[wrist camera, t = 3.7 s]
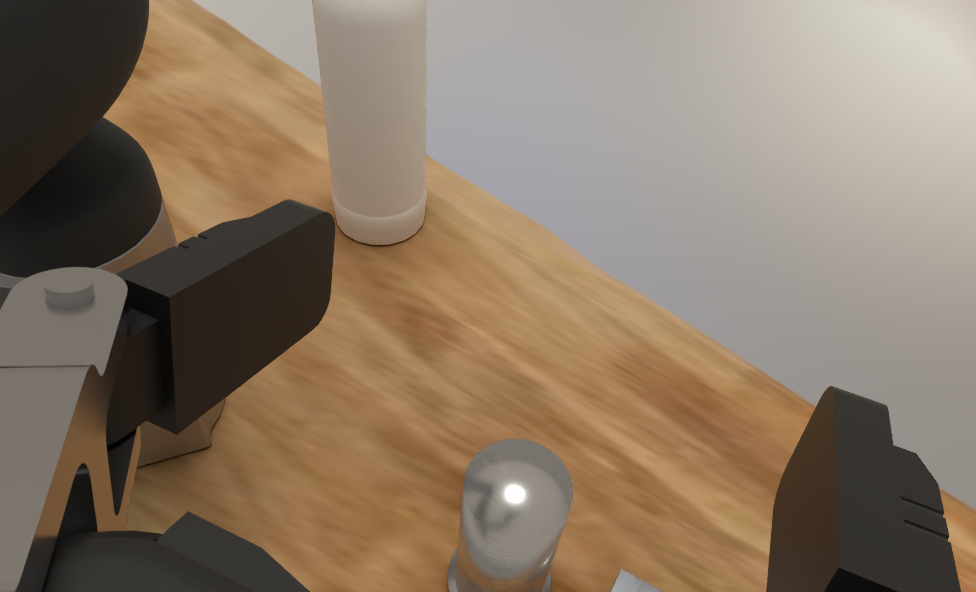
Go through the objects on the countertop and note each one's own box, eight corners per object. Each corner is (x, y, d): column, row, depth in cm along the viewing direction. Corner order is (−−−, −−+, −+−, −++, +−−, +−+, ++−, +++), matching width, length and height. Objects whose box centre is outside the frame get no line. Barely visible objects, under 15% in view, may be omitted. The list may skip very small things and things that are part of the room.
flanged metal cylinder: (565, 614, 43) (603, 522, 34) (468, 653, 41) (483, 566, 32) (523, 522, 46) (548, 417, 38) (433, 554, 45) (437, 452, 36)
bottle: (437, 198, 67) (447, -181, 45) (409, 256, 62) (405, -142, 40) (354, 180, 68) (323, -201, 46) (320, 235, 63) (267, -165, 40)
